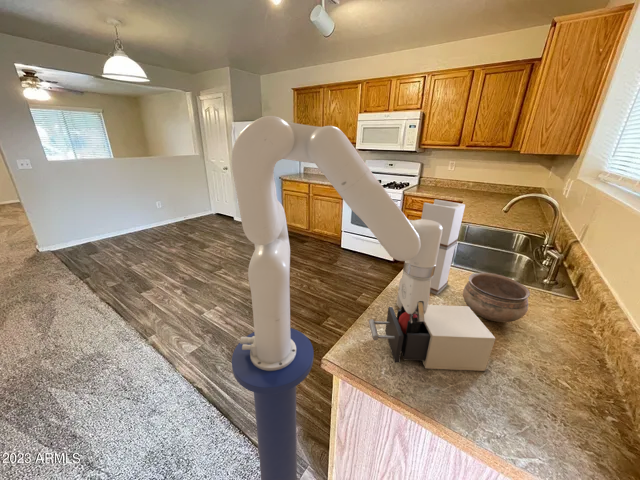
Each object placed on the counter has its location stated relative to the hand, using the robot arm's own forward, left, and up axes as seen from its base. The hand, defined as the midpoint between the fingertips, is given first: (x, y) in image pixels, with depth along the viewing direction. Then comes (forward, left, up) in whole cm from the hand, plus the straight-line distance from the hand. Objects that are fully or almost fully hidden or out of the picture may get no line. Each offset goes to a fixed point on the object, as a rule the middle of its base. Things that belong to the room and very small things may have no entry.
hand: (408, 325), depth 74 cm
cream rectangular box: (+12, 0, -8) cm, 14 cm away
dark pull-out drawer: (0, 0, -7) cm, 7 cm away
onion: (0, 0, -3) cm, 3 cm away
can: (+7, +21, -9) cm, 24 cm away
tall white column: (+21, +38, -9) cm, 44 cm away
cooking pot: (+34, +18, -9) cm, 40 cm away
